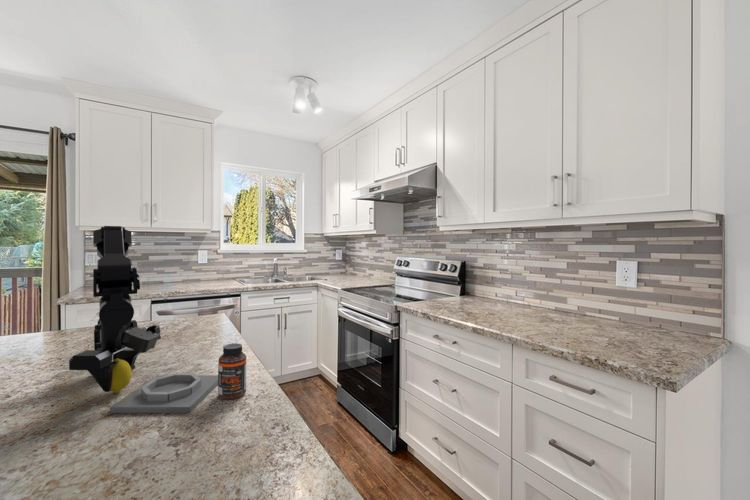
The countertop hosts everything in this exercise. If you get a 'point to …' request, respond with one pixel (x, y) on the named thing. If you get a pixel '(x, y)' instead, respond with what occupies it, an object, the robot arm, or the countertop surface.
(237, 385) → the supplement bottle
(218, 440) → the countertop surface
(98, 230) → the robot arm
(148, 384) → the ring plate
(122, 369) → the lemon
